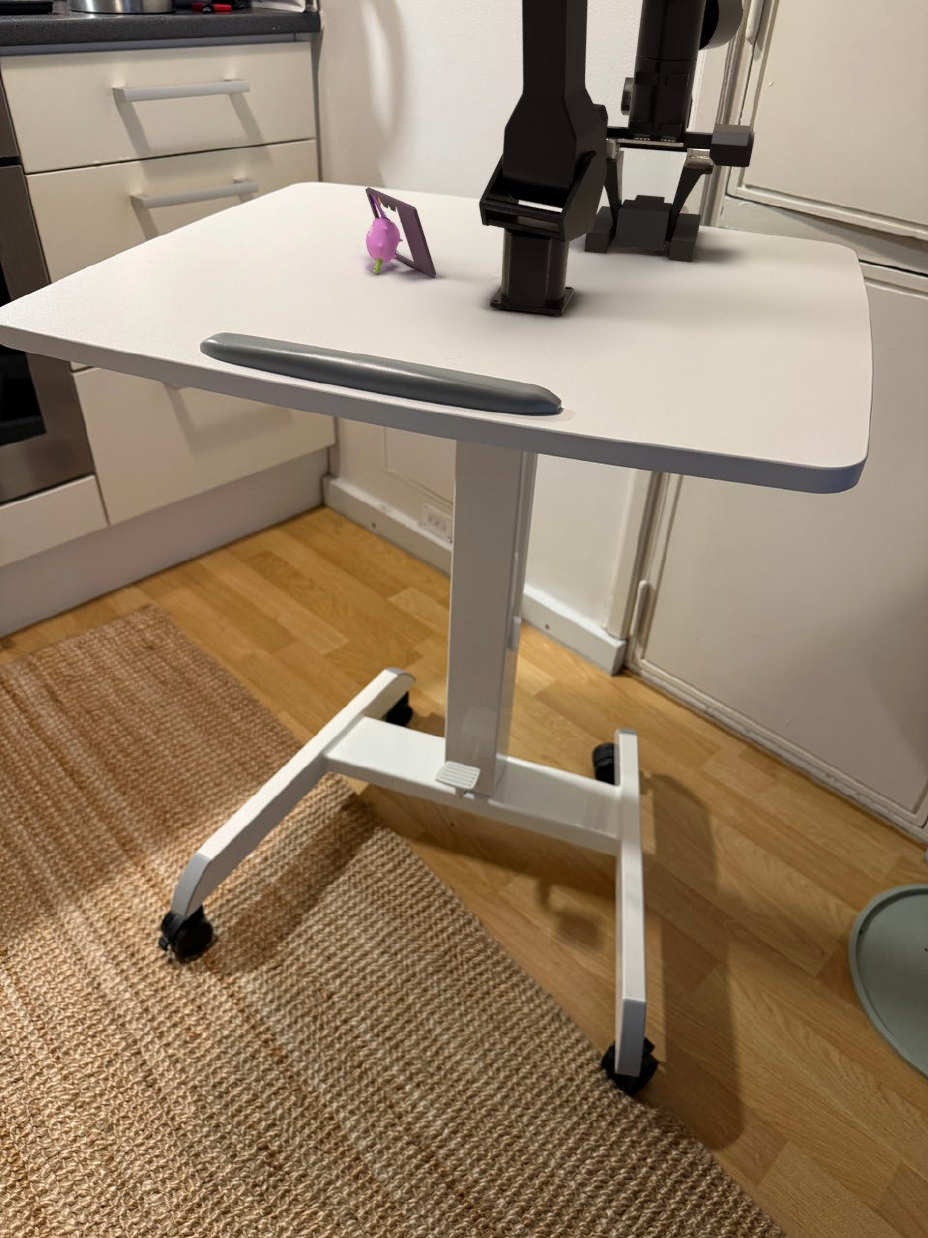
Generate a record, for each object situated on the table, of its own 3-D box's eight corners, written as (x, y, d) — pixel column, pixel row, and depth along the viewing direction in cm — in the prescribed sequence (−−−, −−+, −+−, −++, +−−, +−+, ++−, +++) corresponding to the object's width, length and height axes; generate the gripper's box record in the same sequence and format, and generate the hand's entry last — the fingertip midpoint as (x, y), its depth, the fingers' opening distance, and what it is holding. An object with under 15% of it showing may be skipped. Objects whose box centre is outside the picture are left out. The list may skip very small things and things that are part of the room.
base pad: (691, 261, 91) (694, 241, 90) (584, 251, 93) (586, 230, 92) (697, 233, 100) (701, 214, 98) (599, 224, 102) (601, 205, 101)
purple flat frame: (422, 203, 81) (374, 182, 87) (375, 231, 80) (329, 208, 86) (443, 271, 86) (395, 247, 92) (399, 298, 85) (354, 272, 90)
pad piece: (663, 250, 92) (668, 214, 90) (614, 246, 93) (618, 210, 91) (669, 231, 98) (674, 197, 96) (623, 227, 99) (627, 193, 97)
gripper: (769, 52, 89) (736, 220, 98) (581, 43, 92) (567, 206, 102) (769, 66, 80) (733, 248, 90) (562, 54, 84) (549, 231, 93)
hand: (642, 231), depth 94 cm, fingers closed on pad piece, 5 cm apart
